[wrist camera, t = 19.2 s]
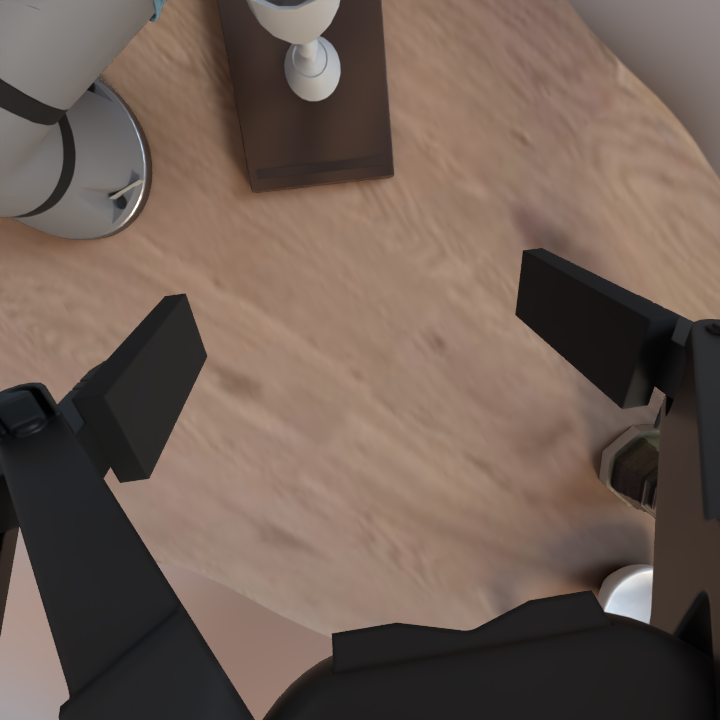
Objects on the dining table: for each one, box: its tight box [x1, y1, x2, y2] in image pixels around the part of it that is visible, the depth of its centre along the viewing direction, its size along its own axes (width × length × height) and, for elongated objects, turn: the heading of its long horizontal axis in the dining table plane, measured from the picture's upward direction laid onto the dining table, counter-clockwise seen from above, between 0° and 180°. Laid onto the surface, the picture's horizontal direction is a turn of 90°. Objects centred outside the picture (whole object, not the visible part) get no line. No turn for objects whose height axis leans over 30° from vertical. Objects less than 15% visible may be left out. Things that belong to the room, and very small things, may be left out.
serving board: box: [217, 0, 394, 193], centre depth 35 cm, size 14×20×2 cm
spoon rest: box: [598, 564, 653, 624], centre depth 55 cm, size 24×12×7 cm, turn 136°
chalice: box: [246, 0, 341, 101], centre depth 26 cm, size 7×7×18 cm
